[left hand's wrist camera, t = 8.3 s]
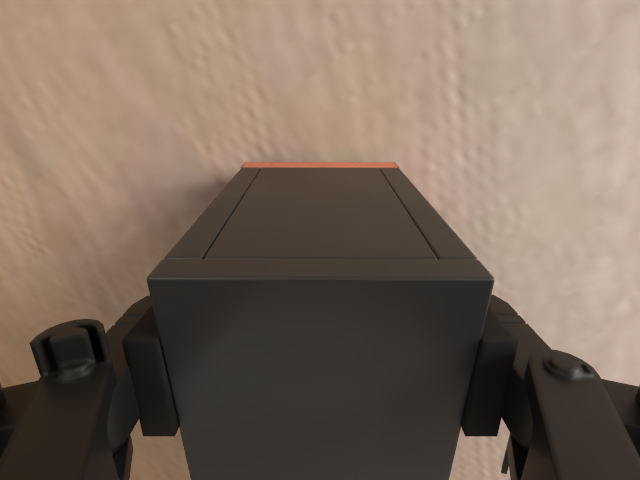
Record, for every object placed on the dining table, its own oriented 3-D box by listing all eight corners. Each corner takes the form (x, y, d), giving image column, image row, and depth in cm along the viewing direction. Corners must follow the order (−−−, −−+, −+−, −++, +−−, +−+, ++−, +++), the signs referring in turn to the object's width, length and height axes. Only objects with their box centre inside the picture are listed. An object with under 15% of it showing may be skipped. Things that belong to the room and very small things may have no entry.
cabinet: (373, 414, 24) (410, 651, 14) (265, 414, 24) (227, 651, 14) (395, 162, 17) (497, 278, 7) (245, 162, 17) (143, 277, 7)
